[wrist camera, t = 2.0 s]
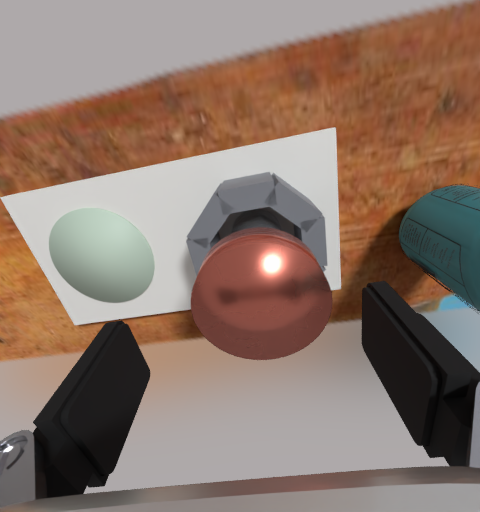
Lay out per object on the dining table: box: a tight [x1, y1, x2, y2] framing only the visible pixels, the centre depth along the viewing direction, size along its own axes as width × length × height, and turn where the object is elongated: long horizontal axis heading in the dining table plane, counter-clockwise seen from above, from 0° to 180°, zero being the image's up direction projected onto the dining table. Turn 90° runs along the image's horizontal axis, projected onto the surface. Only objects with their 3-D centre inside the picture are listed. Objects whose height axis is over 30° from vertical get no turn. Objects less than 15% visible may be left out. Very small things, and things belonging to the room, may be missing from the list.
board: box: [0, 128, 341, 325], centre depth 20 cm, size 26×13×5 cm, turn 101°
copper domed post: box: [191, 209, 332, 360], centre depth 16 cm, size 6×6×10 cm
